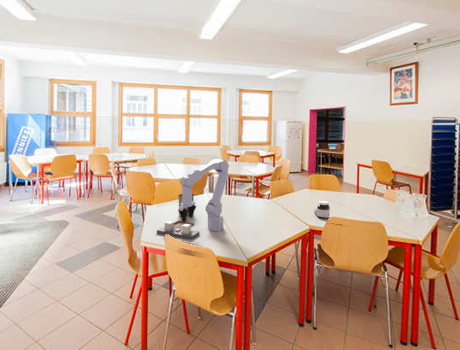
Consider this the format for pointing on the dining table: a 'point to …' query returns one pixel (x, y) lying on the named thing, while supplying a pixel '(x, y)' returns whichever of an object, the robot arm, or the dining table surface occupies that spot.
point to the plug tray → (181, 223)
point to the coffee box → (181, 202)
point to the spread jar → (322, 210)
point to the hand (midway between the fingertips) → (187, 219)
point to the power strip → (178, 233)
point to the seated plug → (169, 226)
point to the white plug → (186, 229)
